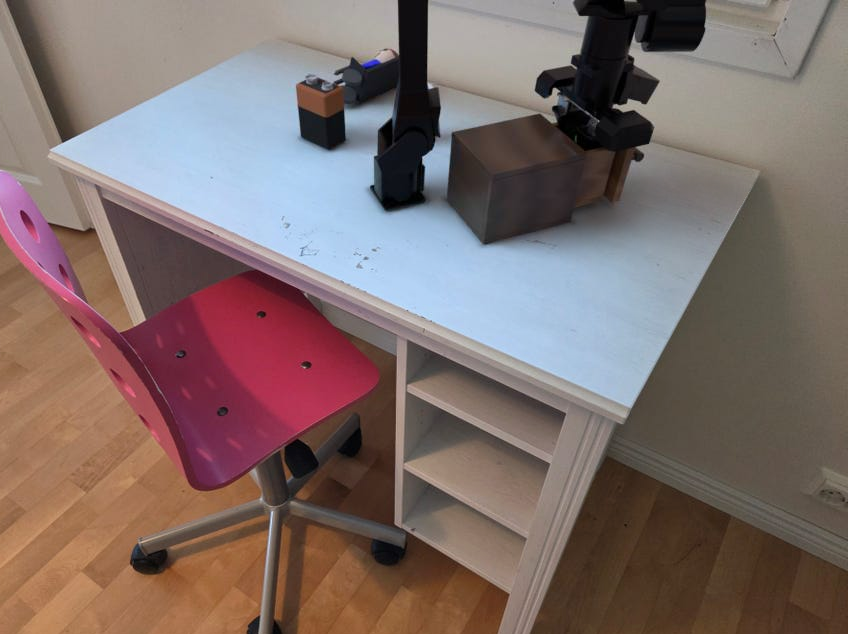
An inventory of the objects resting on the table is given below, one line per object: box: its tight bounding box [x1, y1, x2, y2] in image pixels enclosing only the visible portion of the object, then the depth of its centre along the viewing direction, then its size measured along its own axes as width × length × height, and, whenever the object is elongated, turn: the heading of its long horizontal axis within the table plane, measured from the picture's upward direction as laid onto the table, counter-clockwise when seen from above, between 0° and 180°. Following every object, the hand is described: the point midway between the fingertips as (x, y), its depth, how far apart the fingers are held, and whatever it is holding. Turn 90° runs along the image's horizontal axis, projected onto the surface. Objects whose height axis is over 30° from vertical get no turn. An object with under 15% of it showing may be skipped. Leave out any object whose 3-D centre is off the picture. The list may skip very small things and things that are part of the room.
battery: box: [295, 73, 347, 150], centre depth 104 cm, size 4×7×10 cm, turn 48°
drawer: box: [551, 118, 645, 209], centre depth 92 cm, size 17×10×9 cm, turn 111°
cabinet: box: [446, 113, 587, 245], centre depth 89 cm, size 14×12×11 cm
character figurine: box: [332, 48, 399, 105], centre depth 116 cm, size 8×7×15 cm
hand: (576, 164), depth 92 cm, fingers closed
